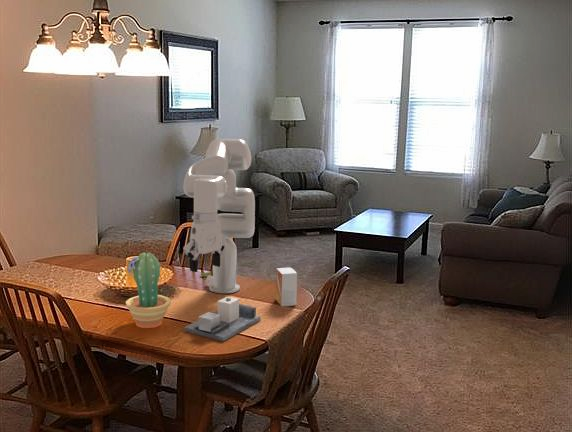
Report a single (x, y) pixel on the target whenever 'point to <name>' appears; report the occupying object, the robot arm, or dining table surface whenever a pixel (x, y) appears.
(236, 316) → the block
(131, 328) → the dining table surface
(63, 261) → the dining table surface
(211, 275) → the lily flower
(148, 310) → the potted cactus
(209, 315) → the block
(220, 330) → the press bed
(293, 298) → the small box
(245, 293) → the dining table surface
